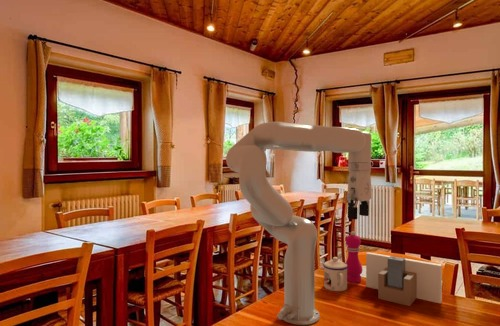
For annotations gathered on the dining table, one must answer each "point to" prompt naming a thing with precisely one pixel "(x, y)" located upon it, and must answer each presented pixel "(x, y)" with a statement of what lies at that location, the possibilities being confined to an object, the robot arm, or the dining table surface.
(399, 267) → the blue-grey rectangular block
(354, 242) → the pepper mill
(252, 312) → the dining table surface
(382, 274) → the upright white panel
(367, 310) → the dining table surface
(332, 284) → the teacup with lid
